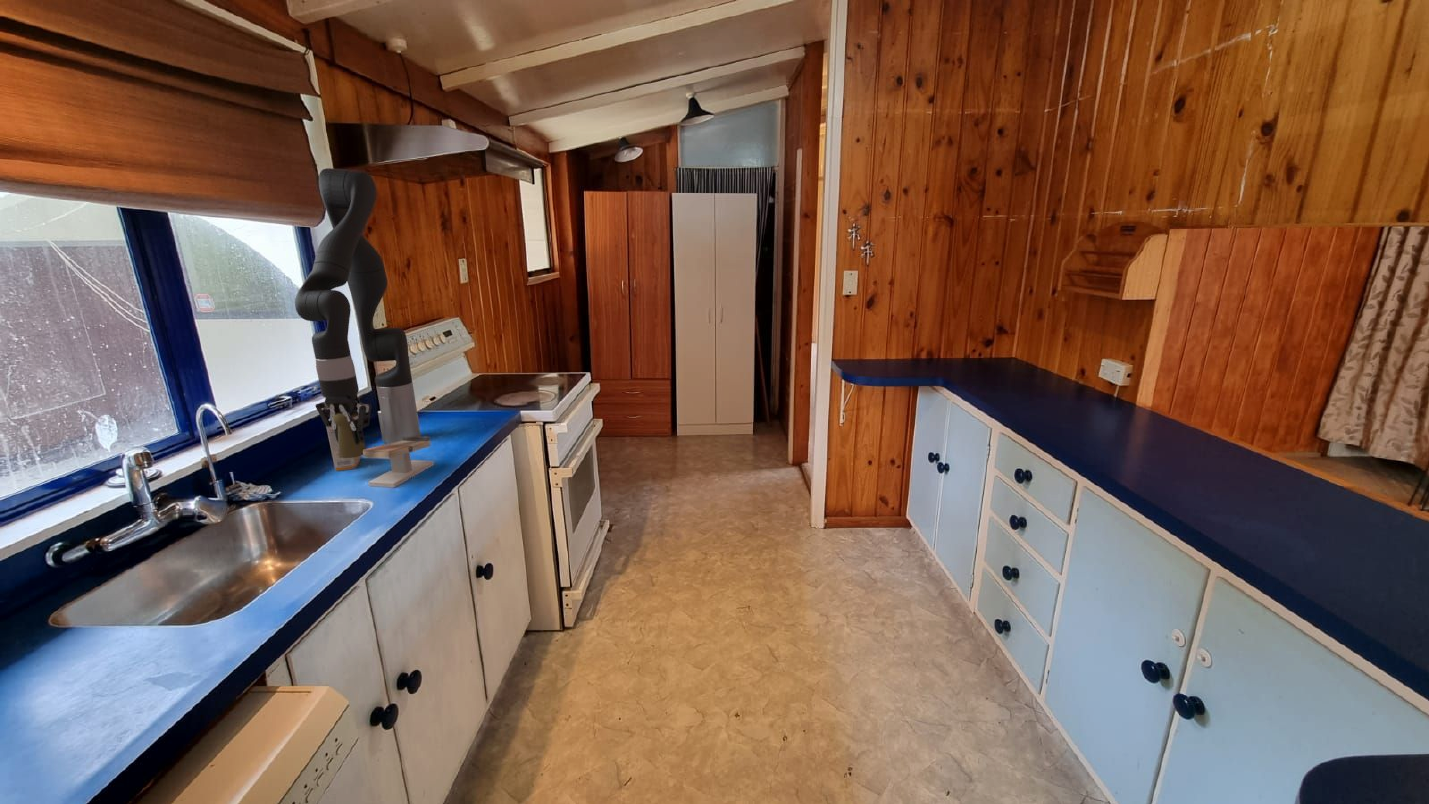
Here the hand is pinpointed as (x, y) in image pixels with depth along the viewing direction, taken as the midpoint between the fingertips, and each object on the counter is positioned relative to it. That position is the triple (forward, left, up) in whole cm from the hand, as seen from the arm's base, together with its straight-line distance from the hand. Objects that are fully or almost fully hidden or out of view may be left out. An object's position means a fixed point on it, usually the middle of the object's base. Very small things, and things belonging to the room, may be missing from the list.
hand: (350, 442), depth 140 cm
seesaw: (+11, +2, -2) cm, 11 cm away
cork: (0, 0, -3) cm, 3 cm away
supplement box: (-8, +7, -9) cm, 14 cm away
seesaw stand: (+11, +2, -9) cm, 14 cm away
